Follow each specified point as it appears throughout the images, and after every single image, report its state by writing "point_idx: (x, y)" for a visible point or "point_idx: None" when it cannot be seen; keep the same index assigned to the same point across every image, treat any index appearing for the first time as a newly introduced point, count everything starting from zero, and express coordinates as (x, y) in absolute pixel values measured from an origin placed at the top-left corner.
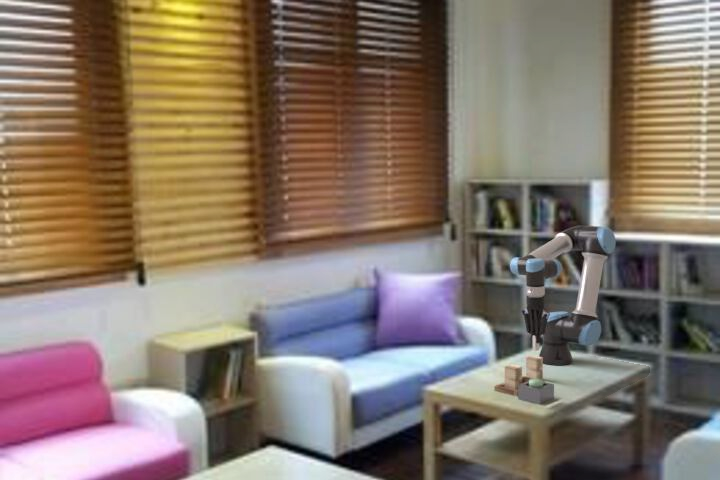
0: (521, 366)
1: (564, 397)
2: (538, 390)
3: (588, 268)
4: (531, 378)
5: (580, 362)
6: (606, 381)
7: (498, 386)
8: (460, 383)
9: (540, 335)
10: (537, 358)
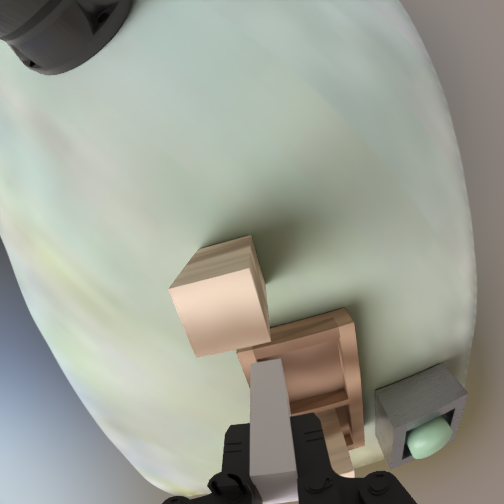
0: (352, 471)
1: (443, 311)
2: (449, 440)
3: None
4: (295, 348)
5: None
6: (401, 38)
7: None
8: (146, 447)
9: (336, 477)
10: (252, 317)
